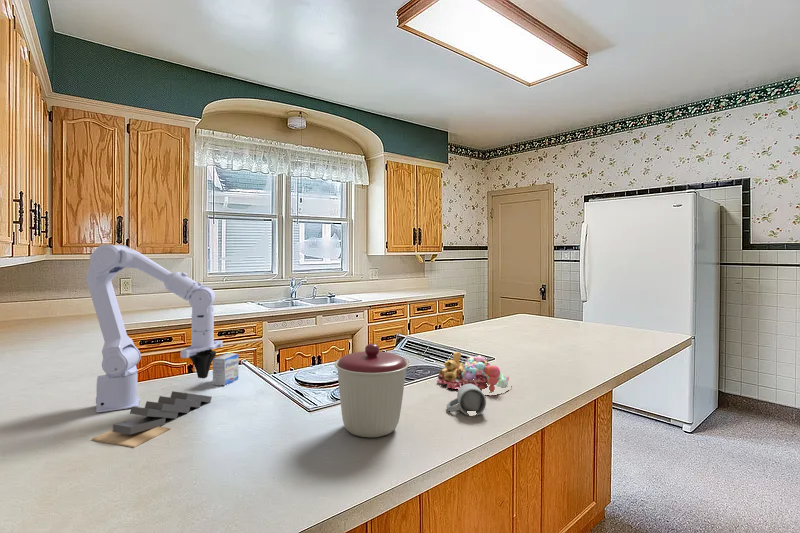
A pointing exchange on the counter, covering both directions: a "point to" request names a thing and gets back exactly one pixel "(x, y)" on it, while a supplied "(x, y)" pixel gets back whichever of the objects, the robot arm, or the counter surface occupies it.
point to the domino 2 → (153, 412)
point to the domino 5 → (190, 396)
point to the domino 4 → (179, 402)
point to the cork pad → (130, 437)
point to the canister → (371, 391)
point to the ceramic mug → (468, 400)
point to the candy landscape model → (471, 373)
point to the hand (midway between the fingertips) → (202, 377)
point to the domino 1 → (138, 425)
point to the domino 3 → (167, 407)
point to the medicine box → (225, 369)
